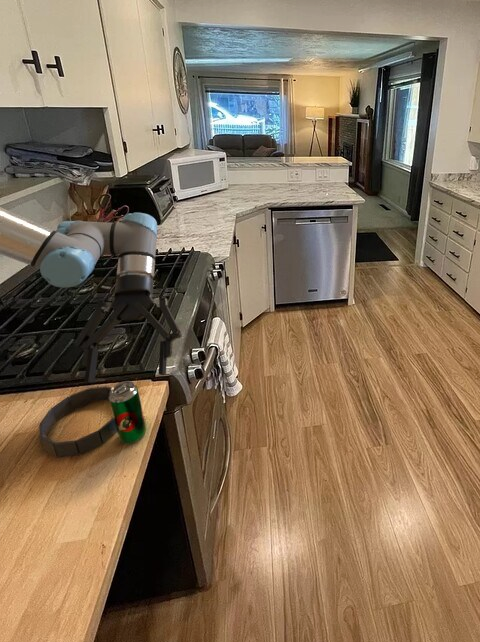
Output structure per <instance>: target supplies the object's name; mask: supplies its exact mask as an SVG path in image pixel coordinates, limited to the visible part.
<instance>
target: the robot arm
mask: <svg viewBox="0 0 480 642" xmlns="http://www.w3.org/2000/svg"><path fill="white" fill-rule="evenodd" d="M157 243H158V222H157V220H156V219H155V218H154V216H152V215H150V214H148V213H145V212H144V213H143V212H133V213H126V214H125V215H124V216H123V218H122V220H121V222H103V221H83V220H63V221H62V222H60V223H58V225H57V228H56V229H55V230H54V229H52V228H49V227H47V226H45V225H42V224H40V223H38V222H35V221H33V220H31V219H29V218H26V217H25V216H22V215H19V214H17V213H15V212H12V211H10V210H7V209H5V208H3V207H1V206H0V255H2V256H4V257H7V258H9V259H12V260H15V261H18V262H21V263H23V264H25V265H28V266H31V267H33V268H36V269H38V270H40V274H41V276H42V278H43V279H44V280H45V281H46V282H47V283H48V284H50V285H51V286H54V287H56V288H64V289H65V288H66V289H67V288H73V287H77V286H78V285H81V284H82V283H83V282H84V281H85V280H86V279H87V278H88V277H89V276H90V274H92V273H93V271H94V270H95V266H96V264H97V262H98V261H99V260H100V258H101V256H118V259H117V261H118V262H117V269H116V277H117V278H116V280H115V287H114V298H113V300H112V301H104V300H101V299H100V300H98V301H97V302H96V304H95V309H94V311H93V313H92V314H91V316H90V317H89V319H88V321H87V322H86V323H85V325H84V326H83V328H82V329H81V331H80V332H79V334H78V336H77V337H76V339H75V340H74V341H73V345H74V346H75V347H77V348H82V350H83V354H82V360H81V364H82V366H83V367H85V372H84V373H85V374H84V380H83V383H85V384H95V381H96V374H97V365H98V357H99V349H97V346H98V345H99V344H100V343H101V342H102V341H103V340H104V339H105V338H106V337H107V336H108V335H109V333H110V332H111V331H113V329H114V328H115V327H116V326H117V325H119V324H120V323H122V321H124V322H131V321H141V320H142V319H145V320H147V321H148V323H149V324H150V325H151V326H152V327H153V328H154V330H156V331H157V333H158V334H159V335H160V336H161V338H163V340H160V342H159V344H160V345H159V357H158V358H159V359H158V362H159V363H158V375H161V376H166V375H167V364H168V363H167V362H168V361H167V359H168V358H171V357H172V355H173V342H174V341H175V340H177V339H180V338H182V336H183V334H182V332H181V330H180V327H179V326H178V324H177V322H176V320H175V318H174V316H173V313H171V310H170V308H169V302H168V301H169V300H168V298H167V297H166V296H164V295H160V296H159V297H156V298H153V295H154V284H155V283H154V282H155V281H154V279H153V278H154V277H155V268H156V254H157V253H156V252H157ZM155 305H156V307H157V308H159V309H160V311H161V313H162V315H163V317H164V319H165V321H166V323H167V325H168V327H169V329H170V330H171V333H169V331H167V329H166V328H165V327H164V326H163V325H162V324H161V323H160V322H159V321H158V320H157V319H156V317H155V316H154V315H153V314H152V312H150V311H151V310H152V308H153V307H154V306H155ZM111 309H112V310H113V312H112V313H111V314H110V315H109V316H108V318H107V320H106V321H104V322H103V324H102V325H101V326H100V327H99V325H100V324H101V322H102V321H103V319H104V318H105V316H106V314H107V313H108V312H109V311H110V310H111ZM98 327H99V328H98Z"/></svg>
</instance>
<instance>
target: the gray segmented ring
mask: <svg viewBox="0 0 480 642" xmlns="http://www.w3.org/2000/svg"><path fill="white" fill-rule="evenodd" d="M112 388H113V387H111V386H94V387H89V388H85V389H84V390H80V391H78V392H75V393H73V394H69V396H66V397H64V398H63V399H62V400H61V401H59V402H58V403H56V404H55V405H54V406H52V407H51V408H50V409H49V410H48V411H47V413H46V414H45V415H44V417H43V418H42V420H41V421H40V423H39V424H38V430H39V431H38V435H39V440H40V443H41V445H42V448H43V450H44V452H46V453H47V454H49V455H52V456H53V457H56V458H59V459H61V458H70V457H79V456H82V455H83V454H86V453H88V452H90V451H92V450H94V449H96V448H98V447H101V446H102V445H103V444H105V443H106V442H107V441H108V440H110V439H111V438H112V437H113V436H114V435H115V434H116V433H117V429H116V425H115V421H114V418H113V417H112V418H110V419H109V420H108V421H107V422H106V423H104V425H103V426H101V427H100V428H99V429H98V430H96V431H93V432H91V433H88V434H87V435H85V436H82V437H79V438H78V439H75V440H66V441H56V442H55V441H53V440H51V439H49V438H47V437H48V436H49V433H50V432H51V431H52V429H53V428H54V426H55V425H56V423H57V422H58V421H60V420H61V419H62V418H63V417H65V416H66V415H68V414H69V413H70V412H72V411H73V410H74V409H77V408H79V407H81V406H84V405H87V404H90V403H92V402H98V401H99V402H101V401H109V395H110V390H111V389H112Z"/></svg>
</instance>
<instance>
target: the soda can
mask: <svg viewBox="0 0 480 642" xmlns="http://www.w3.org/2000/svg"><path fill="white" fill-rule="evenodd" d="M111 388H112V389H111V390H110V395H109V400H108V402H109V406H110V409H111V413H112V418H114V421H115V425H116V429H117V432H116V433H117V436H118V439H119V441H120V442H121V443H122V444H133V443H136V442H138V441H139V440H141V439H142V438H143V437H144V435H145V434H146V432H147V429H148V428H147V424H146V419H145V415H144V409H143V405H142V401H141V396H140V392H139V387H138V386H137V385H136V384H135V383H134V382H133V381H130V380H126V381H121V382H119V383H117V384H115V385H114V386H113V387H111Z"/></svg>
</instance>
